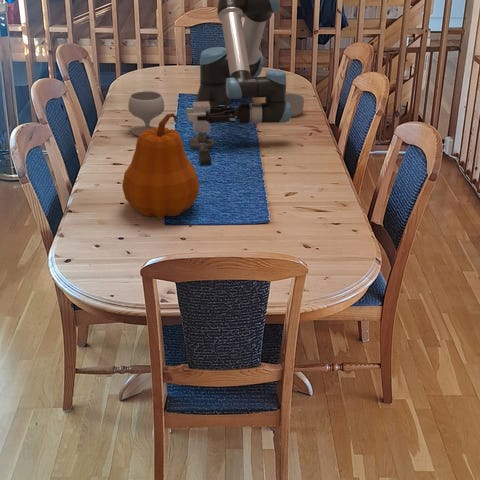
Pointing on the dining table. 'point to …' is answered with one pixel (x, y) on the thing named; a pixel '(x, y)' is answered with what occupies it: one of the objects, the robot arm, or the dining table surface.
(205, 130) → the tall taupe upright block
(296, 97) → the teacup
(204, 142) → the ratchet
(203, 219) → the dining table surface
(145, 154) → the decorative pumpkin
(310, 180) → the dining table surface
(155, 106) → the chalice
